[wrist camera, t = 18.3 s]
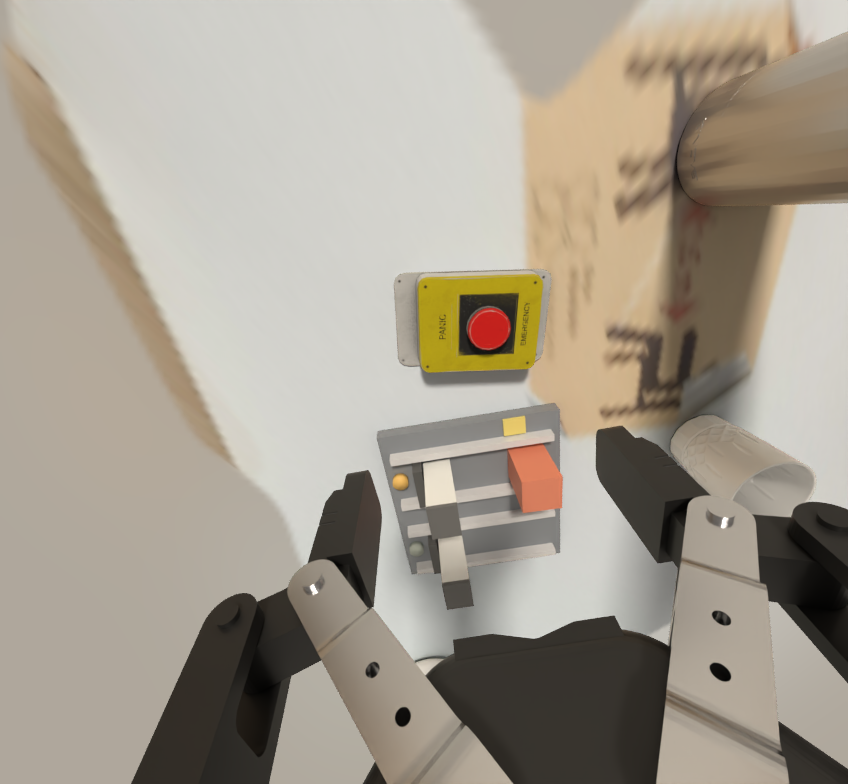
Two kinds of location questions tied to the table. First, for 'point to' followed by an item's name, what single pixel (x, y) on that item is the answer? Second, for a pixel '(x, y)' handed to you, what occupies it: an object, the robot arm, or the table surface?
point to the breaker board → (473, 485)
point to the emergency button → (471, 319)
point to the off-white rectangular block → (441, 500)
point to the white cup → (742, 467)
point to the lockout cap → (534, 478)
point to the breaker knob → (454, 573)
